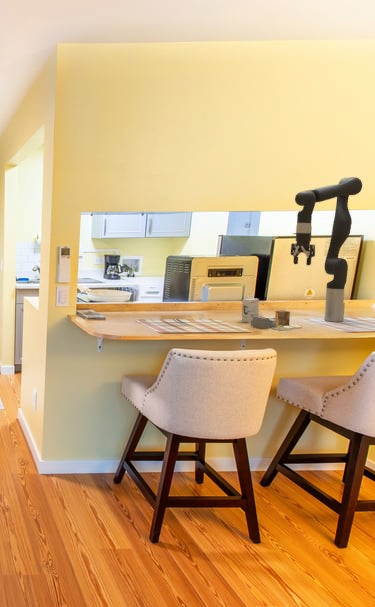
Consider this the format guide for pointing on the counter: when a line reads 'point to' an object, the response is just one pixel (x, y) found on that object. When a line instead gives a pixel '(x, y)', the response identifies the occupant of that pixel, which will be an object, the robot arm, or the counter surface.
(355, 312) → the counter surface
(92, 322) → the counter surface
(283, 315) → the brown wooden block
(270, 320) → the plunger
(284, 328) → the gauge bed
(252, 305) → the ink box
